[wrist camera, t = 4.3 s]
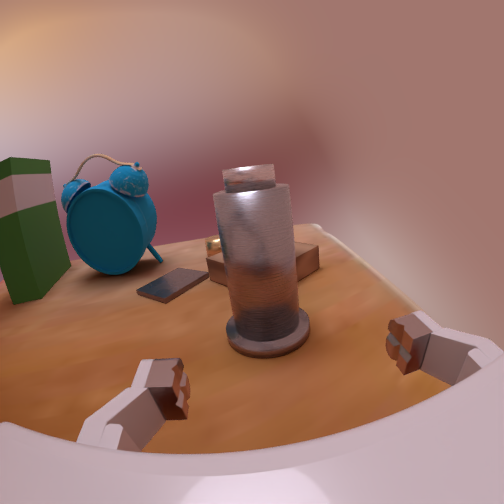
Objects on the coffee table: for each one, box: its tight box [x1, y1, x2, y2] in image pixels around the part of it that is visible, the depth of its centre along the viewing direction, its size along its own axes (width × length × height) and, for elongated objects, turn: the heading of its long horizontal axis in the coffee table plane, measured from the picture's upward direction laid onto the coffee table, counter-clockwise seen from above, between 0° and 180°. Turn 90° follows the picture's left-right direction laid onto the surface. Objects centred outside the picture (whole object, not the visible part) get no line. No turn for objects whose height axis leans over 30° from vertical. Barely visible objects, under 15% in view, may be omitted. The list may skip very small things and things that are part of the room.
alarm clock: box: [61, 154, 163, 275], centre depth 40 cm, size 17×10×20 cm, turn 87°
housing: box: [213, 164, 309, 358], centre depth 21 cm, size 7×7×14 cm
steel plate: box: [136, 268, 209, 304], centre depth 35 cm, size 8×6×1 cm
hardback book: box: [0, 157, 71, 304], centre depth 38 cm, size 18×7×24 cm, turn 17°
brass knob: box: [205, 235, 222, 257], centre depth 44 cm, size 4×4×3 cm
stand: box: [206, 242, 319, 286], centre depth 34 cm, size 10×10×3 cm
